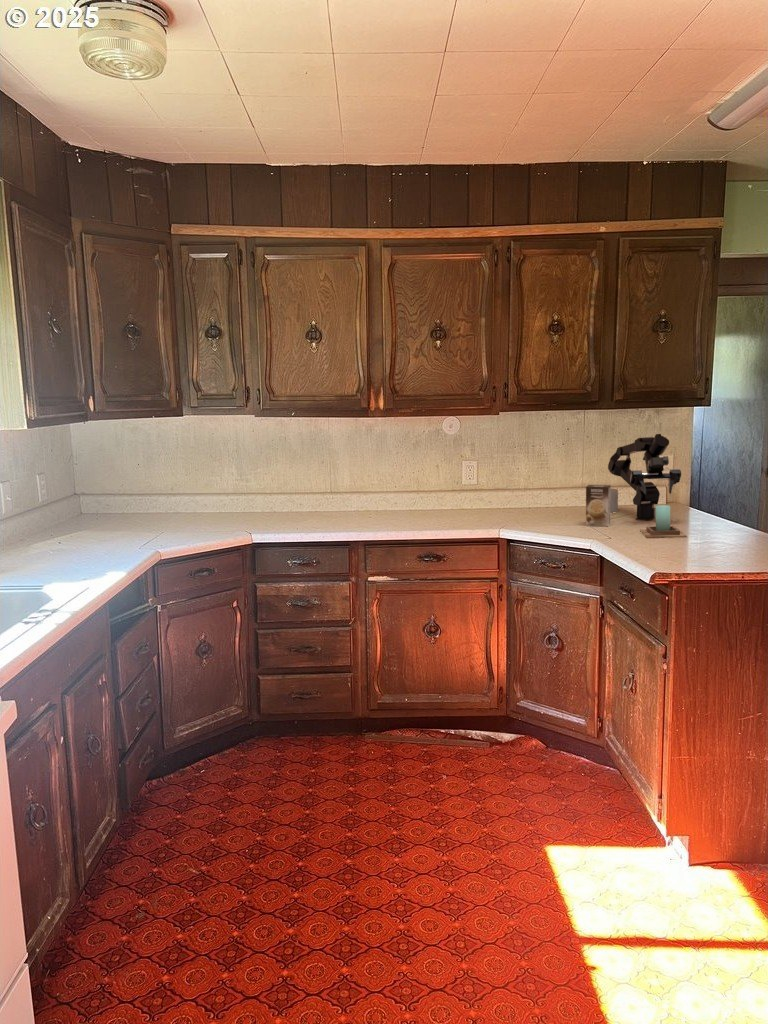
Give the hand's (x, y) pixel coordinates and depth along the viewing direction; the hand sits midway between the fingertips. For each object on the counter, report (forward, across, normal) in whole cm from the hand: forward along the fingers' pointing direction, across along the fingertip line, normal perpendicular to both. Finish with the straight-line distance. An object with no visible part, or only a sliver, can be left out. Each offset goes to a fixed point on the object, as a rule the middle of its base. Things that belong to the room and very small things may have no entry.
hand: (658, 493), depth 299 cm
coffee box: (+5, -22, +14) cm, 26 cm away
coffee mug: (-18, -14, +37) cm, 44 cm away
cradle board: (+21, -1, -2) cm, 21 cm away
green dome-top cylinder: (+20, -1, -3) cm, 21 cm away
